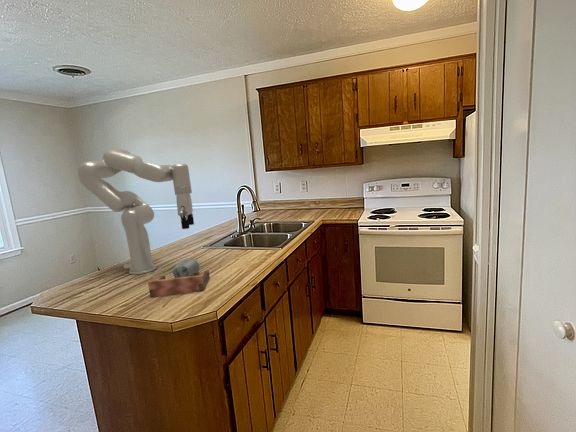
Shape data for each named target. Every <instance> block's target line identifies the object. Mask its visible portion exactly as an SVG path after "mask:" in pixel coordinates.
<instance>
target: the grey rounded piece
mask: <svg viewBox="0 0 576 432" xmlns="http://www.w3.org/2000/svg"><path fill="white" fill-rule="evenodd" d="M199 271H200V264H199V262H198V260H196V259H194V258H191V257H187V258H185V259H184V260H181V261H180V262H179V263H178V264H175V266H174V267H173V269H172V274H173V278H179V277H188V276H196V275H197V274H198V273H199Z"/></svg>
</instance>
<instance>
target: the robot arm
mask: <svg viewBox="0 0 576 432" xmlns="http://www.w3.org/2000/svg"><path fill="white" fill-rule="evenodd" d="M189 171H190V170H189V166H188V165H187V164H186V163H179V164H178V163H177V164H173V165H169V164H162V165H159V164H154V163H153V164H152V163H149V162H146V161H143V159H142V157H140V156H139V155H137V154H132V153H130V151H128V150H126V149H113V148H111V149H108V150H106V151H104V153H103V154H102V160H88V161H84V162H82V163H81V164H80V165H78V169H77V177H78V180H79V182H80V183H81V185H82V186H83V187H84V188H85V189H86V190H88V191H89V192H90V193H91V194H92V195H94V197H96V198H97V199H98V200H100V201H101V202H102V203H103V204H104V205H105V206H107V207H108V208H109V209H110V210H111V211H113V212H115V213H121V212H122V213H121V215H120V221H121V225H122V227H123V230H124V232H125V236H126V242H127V246H128V247H127V248H128V252H129V258H130V263H124V264H123V269H124V270H126V269H129V272H128V273H129V274H130V275H143V274H147V273H150V272H153V271H155V270H156V269H157V267H158V266H157V264H155V263H154V262H153V256H152V252H151V251H152V250H151V245H150V244H151V243H150V238H149V234H148V231H147V229H146V226H145V225H146V224H149V223H151V222H152V221H153V220H154V218H155V212H154V210H153V208H152V207H151V206H150V205H149V204H148V203H147V202H146V201H144V199H142V198H141V197H140V196H139V195H138V194H136V193H135V192H133V191H130V190H124V191H123V190H122V191H119V190H118V189H117V188H116V187H114V186H113V185H112V184H111V183H109V182H107V181H106V180H104V179H108V178H111V177H114V176H115V175H118V174H119V173H121V172H127V173H130V174H134V176H136V177H138V178H140V179H143V180H146V181H150V182H154V183H163V182H172V185H173V188H174V189H173V190H174V195H175V196H176V198H175V199H176V210H177V216H179V217H180V223H181V229H182V230H186V229H187V230H188V229H190V226H193V225H195V222H194V221H195V220H194V215H193V210H194V209H193V202H192V198H191V197H192V196H191V194H192V193H193V192H192V185H191V179H190V178H191V177H190V172H189ZM107 207H106V208H107Z"/></svg>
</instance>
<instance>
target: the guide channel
mask: <svg viewBox="0 0 576 432" xmlns="http://www.w3.org/2000/svg"><path fill="white" fill-rule="evenodd" d="M210 276H211V275H210V272H209V270H207V271H204V273H203V274H199V275H197V274H196V275H193V276H188V277H179V278H175V277H171V278H166V275H162V276H160V277H159V278H158V279H156V280H155V279H154V280H149V281H148V282H147V284H148V289H149V295H150V296H149V297H150V298H155V297H162V296H163V297H164V296H171V295H180V294H188V293H197V292H204V291H205V289H206V286H207V285H208V284H207V283H208V282H209V280H210V278H211V277H210Z"/></svg>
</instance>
